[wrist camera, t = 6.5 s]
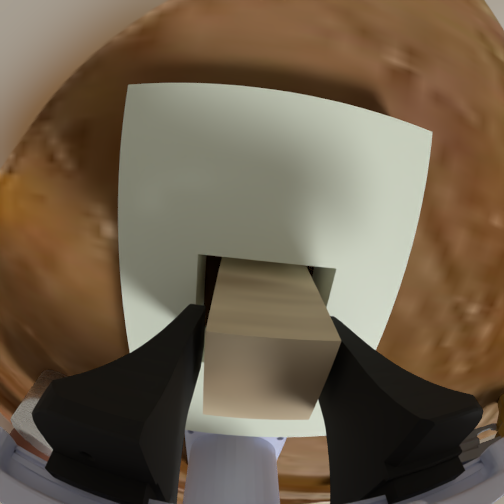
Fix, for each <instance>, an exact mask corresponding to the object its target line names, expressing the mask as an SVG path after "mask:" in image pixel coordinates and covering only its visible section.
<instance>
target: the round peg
mask: <svg viewBox="0 0 504 504" xmlns="http://www.w3.org/2000/svg"><path fill="white" fill-rule="evenodd" d="M65 377H67V376H66V375H64V374H62V373H60V372H57V371H54V370H45V371H43V372H42V373H41V375H40V376H39V378H38V379H37V380H36V382H35V383H34V385H33V386H32V387H31V389H30V390H29V392H28V393H27V395H26V396H25V398H24V399H23V401H22V402H21V404H20V405H19V407H18V408H17V410H16V411H15V413H14V414H13V416H12V417H11V422H12V424H13V426H14V428H15V429H16V430H17V431H18V433H19V434H20V435H21V436H22V437H23V438H24V439H25V440H26V441H27V442H29V443H30V444H31V445H32V446H33V447H35V448H36V449H37V450H39V451H40V452H42V453H43V454H45V455H47V456H48V457H50V455H51V453H52V451H53V449H52V448H51V447H50V445H49V444H48V443H47V441H46V440H45V438H44V437H43V436H42V434H41V433H40V432H39V430H38V429H37V427H36V425H35V423H34V421H33V418H32V411H33V409H34V407H35V406H36V404H37V403H38V401H39V399H40V398H41V396H42V395H43V393H44V391H45V390H46V388H47V387H48V386H49V384H50V383H51V382H52V380H55V379H60V378H65Z"/></svg>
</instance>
